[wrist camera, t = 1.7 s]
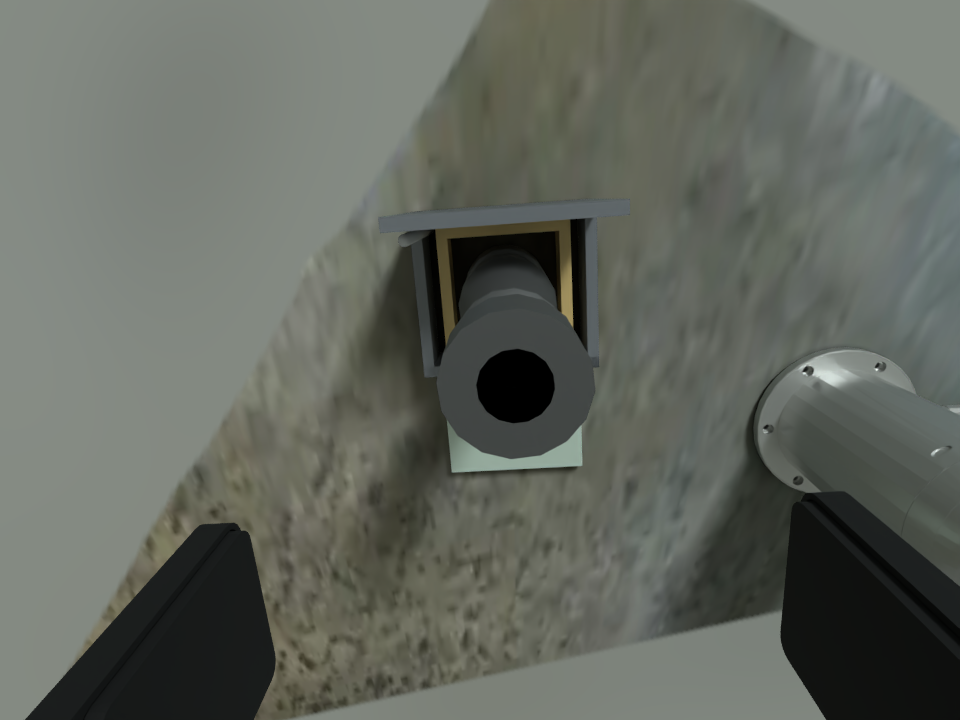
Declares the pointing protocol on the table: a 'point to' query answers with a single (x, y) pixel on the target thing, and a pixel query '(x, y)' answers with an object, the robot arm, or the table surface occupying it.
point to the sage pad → (475, 460)
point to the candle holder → (513, 361)
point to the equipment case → (503, 223)
